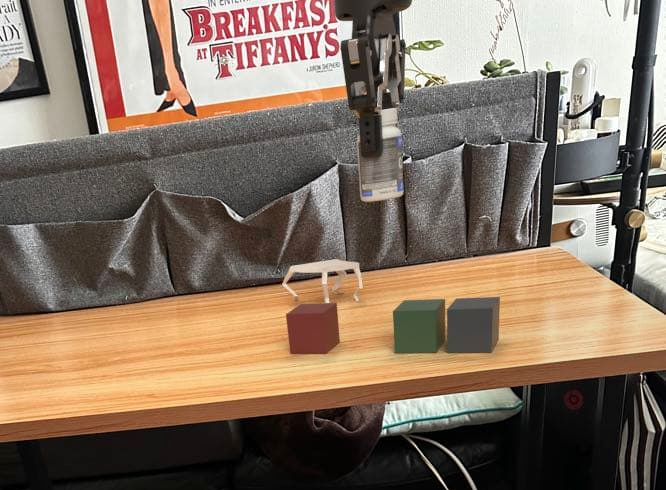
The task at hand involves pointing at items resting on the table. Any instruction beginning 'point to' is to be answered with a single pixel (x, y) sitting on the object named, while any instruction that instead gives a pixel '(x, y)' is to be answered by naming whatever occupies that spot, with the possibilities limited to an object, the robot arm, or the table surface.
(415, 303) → the green block
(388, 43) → the robot arm
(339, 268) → the white legged frame
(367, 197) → the pill bottle
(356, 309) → the table surface
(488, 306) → the slate block
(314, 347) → the maroon block
